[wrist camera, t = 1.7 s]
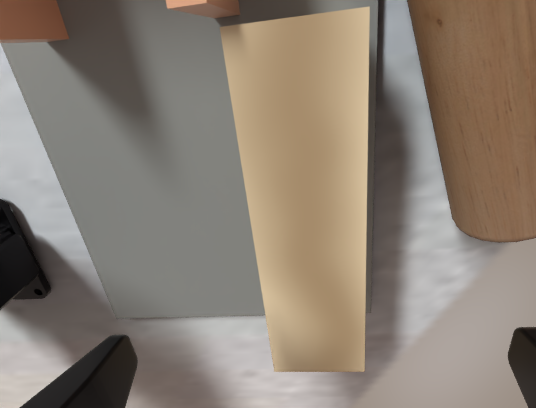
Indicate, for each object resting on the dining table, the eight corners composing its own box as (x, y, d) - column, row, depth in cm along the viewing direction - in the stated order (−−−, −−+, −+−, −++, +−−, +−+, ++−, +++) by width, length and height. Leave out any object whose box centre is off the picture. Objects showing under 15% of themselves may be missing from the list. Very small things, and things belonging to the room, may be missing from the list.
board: (121, 311, 21) (116, 318, 20) (-63, -140, 12) (-80, -149, 11) (368, 304, 19) (370, 312, 18) (379, -242, 10) (384, -258, 9)
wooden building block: (279, 308, 19) (274, 371, 15) (242, 29, 13) (219, 26, 9) (352, 306, 18) (364, 371, 15) (349, 14, 12) (369, 6, 9)
